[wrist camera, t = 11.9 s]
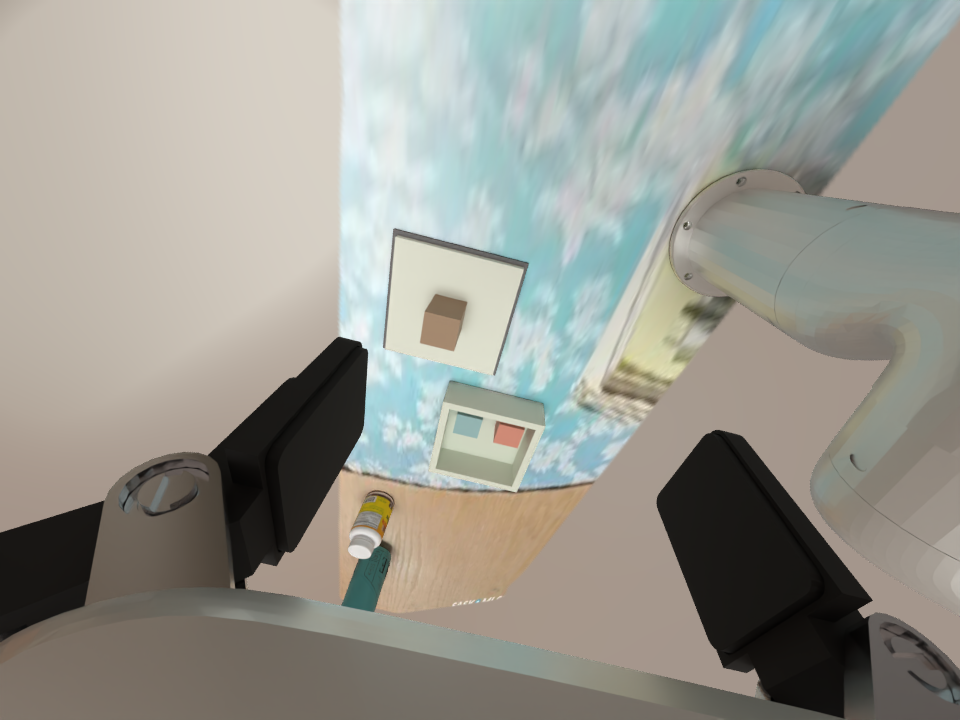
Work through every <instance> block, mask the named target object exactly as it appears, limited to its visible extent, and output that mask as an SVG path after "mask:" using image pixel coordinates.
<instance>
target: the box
mask: <svg viewBox="0 0 960 720" xmlns="http://www.w3.org/2000/svg"><path fill="white" fill-rule="evenodd" d="M458 411H459V412H463V413H467V414H472V415H476V416H480V417H483V421H482V424H481V427H480V431H479V434H478V437H477V439H476V438H472V437H468V436H464V435H460V434H456V433H453V429H454V425H455V421H456V417H457V413H458ZM496 421H500V422H504V423H509V424H513V425H517V426H521V427H525V431H524V433H523V436H522V438H521V441H520V443H519V446H518V448H514V447H509V446H505V445H501V444H497V443H493V440H494V429H495V424H496ZM544 428H545V417H544V407H543V403H539V402H535V401H531V400H527V399H523V398H519V397H515V396H511V395H507V394H503V393H499V392H495V391H491V390H486V389H482V388H478V387H474V386H470V385H466V384H462V383H458V382H454V381H450V382H449V385H448V388H447V392H446V395H445V398H444V401H443V406H442V410H441V415H440V419H439V424H438V429H437V433H436V438H435V443H434V447H433V452H432V456H431V461H430V466H429V470H428V471H429V472H433V473H437V474H441V475H446V476H450V477H454V478H458V479H463V480H467V481H471V482H475V483H479V484H484V485H488V486H492V487H496V488H500V489H505V490H509V491H513V492H517V490H518V488H519V485H520V483H521V481H522V479H523V476H524V474H525V472H526V469H527V467H528V465H529V463H530V460H531V458H532V456H533V454H534V451H535V449H536V447H537V444H538V442H539V440H540V438H541V435H542V433H543V431H544Z"/></svg>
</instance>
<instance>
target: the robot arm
mask: <svg viewBox="0 0 960 720" xmlns="http://www.w3.org/2000/svg"><path fill="white" fill-rule="evenodd" d="M738 179H739V182H738V183H737V184H736V182H737V180H738ZM685 222H686V226H684V227H683V225H684V223H685ZM669 251H670V262H671V265H672V269H673V271H674V273H675V274H676V276H677V278H678V279H679V280H680V281H681V282H682V283H683V284H684V285H685V286H687V287H688V288H689V289H691V290H693V291H695V292H697V293H699V294H702V295H706V296H713V297H724V296H730V297H731V298H733V299H734V300H736V301H737V302H739V303H740V304H742V305H743V306H745V307H746V308H748V309H749V310H751V311H752V312H754V313H755V314H757V315H758V316H760V317H761V318H763V319H764V320H766V321H767V322H769V323H770V324H772V325H773V326H775V327H776V328H778V329H779V330H781V331H782V332H784V333H785V334H787V335H788V336H790V337H791V338H793V339H794V340H796V341H798V342H799V343H800V344H802V345H804V346H805V347H807V348H809V349H811V350H813V351H816V352H818V353H821V354H824V355H827V356H831V357H836V358H842V359H849V360H890V361H889V364H888V365H887V366H886V368H885V369H884V371H883V372H882V373H881V375H880V376H879V378H878V379H877V380H876V382H875V383H874V384H873V386H872V389H871V391H870V392H869V393H868V395H867V396H866V397H865V398H864V400H863V401H862V402H861V404H860V405H859V406H858V408H857V409H856V410H855V411H854V413H853V414H852V415H851V417H850V418H849V419H848V421H847V422H846V423H845V424H844V426H843V427H842V428H841V430H840V431H839V432H838V434H837V435H836V436H835V438H834V439H833V440H832V441H831V443H830V445H829V446H828V448H827V449H826V450H825V452H824V453H823V454H822V456H821V457H820V459H819V460H818V462H817V464H816V465H815V468H814V470H813V472H812V476H811V480H810V492H811V497H812V500H813V502H814V505H815V507H816V509H817V511H818V512H819V514H820V515H821V517H822V518H823V520H824V521H825V522H826V524H827V525H828V526H829V527H830V528H831V529H832V530H833V531H834V532H835V533H836V534H837V535H838V536H839V537H840V538H841V539H842V540H843V541H844V542H845V543H846V544H847V545H849V546H850V547H851V548H852V549H854V550H855V551H856V552H857V553H858V554H860V555H861V556H862V557H863V558H865V559H866V560H868V561H869V562H870V563H872V564H873V565H875V566H876V567H877V568H879V569H880V570H882V571H883V572H885V573H886V574H888V575H889V576H891V577H893V578H894V579H896V580H897V581H899V582H900V583H902V584H903V585H905V586H907V587H908V588H910V589H911V590H913V591H915V592H917V593H918V594H920V595H922V596H924V597H925V598H927V599H929V600H930V601H932V602H934V603H936V604H938V605H939V606H941V607H943V608H944V609H946V610H948V611H950V612H952V613H953V614H955V615H957V616H959V617H960V213H953V212H943V211H935V210H927V209H920V208H911V207H899V206H892V205H884V204H877V203H869V202H861V201H853V200H846V199H839V198H830V197H823V196H816V195H808V194H806V193H805V191H804V190H803V188H802V187H801V186H800V184H799V183H798V182H797V181H796V180H794V179H793V178H792V177H790V176H789V175H786V174H784V173H781V172H779V171H773V170H766V169H752V170H746V171H740V172H737V173H734V174H731V175H728V176H726V177H724V178H722V179H720V180H718V181H716V182H714V183H713V184H711V185H710V186H709V187H707V188H706V189H704V190H703V191H702V192H701V193H699V194H698V195H697V196H696V197H695V198H694V199H693V200H692V201H691V202H690V204H689V205H688V206H687V207H686V209H685V210H684V211H683V213H682V214H681V216H680V218H679V220H678V221H677V223H676V225H675V228H674V231H673V233H672V236H671V242H670V248H669ZM686 273H687V275H686V276H684V275H685V274H686ZM367 363H368V350H367V349H364V348H362V344H361V342H358V341H354V340H350V339H346V338H342V337H338V338H336V339H335V340H334V341H333V342H332V343H331V344H330V345H329V346H328V347H327V348H326V349H325V350H324V351H323V352H322V353H321V354H320V355H319V356H318V357H317V358H316V359H315V360H314V361H313V362H312V363H311V364H310V365H308V366H307V368H305V369H304V370H303V371H302V372H301V373H300V374H299V375H298V376H297V377H296V378H294V377H293V378H289V379H288V380H287V381H286V382H284V383H283V384H282V385H281V386H280V387H279V388H278V389H277V390H276V391H275V392H274V393H273V394H272V395H271V396H270V397H268V399H266V400H265V401H264V402H263V403H262V404H261V405H260V406H259V407H258V408H257V409H256V410H255V411H254V412H253V413H252V414H251V415H250V416H249V417H248V418H246V419H245V420H244V421H243V422H242V423H241V424H240V425H239V426H238V427H237V428H236V429H235V430H234V431H233V432H232V433H231V434H230V435H229V436H228V437H227V438H225V439H224V440H223V441H222V442H221V443H220V444H219V445H218V446H217V447H216V448H215V449H214V450H213V451H212V452H211V453H210V454H209V455H208V456H207V455H204V454H200V453H191V452H182V453H174V454H168V455H164V456H161V457H158V458H155V459H151V460H149V461H148V462H145V463H143V464H141V465H139V466H137V467H135V468H133V469H132V470H131V471H130V472H128V473H126V474H125V475H124V476H122V477H121V478H120V479H119V480H118V481H117V482H116V483H115V485H114V486H113V487H112V488H111V489H110V490H109V492H108V495H107V497H106V499H105V501H101V502H98V503H95V504H92V505H88V506H85V507H82V508H79V509H75V510H73V511H69V512H66V513H63V514H59V515H56V516H53V517H50V518H47V519H43V520H40V521H37V522H33V523H30V524H27V525H24V526H20V527H17V528H14V529H11V530H7V531H4V532H1V533H0V720H960V670H959V668H958V667H957V666H956V665H955V664H954V663H953V662H952V661H951V659H949V657H948V656H947V655H946V654H945V653H943V652H942V651H941V650H940V649H939V648H938V647H937V646H936V645H935V644H934V643H932V642H931V641H930V640H929V639H928V638H926V637H925V636H924V635H922V634H921V633H919V632H918V631H917V630H916V629H914V628H913V627H911V626H909V625H908V624H906V623H904V622H903V621H901V620H900V619H897V618H894V617H892V616H890V615H888V614H883V613H874V614H872V615H870V616H868V617H866V618H863V617H862V615H861V614H860V613H859V611H858V610H857V609H859V608H861V607H862V606H864V605H866V604H868V603H869V602H871V601H873V600H872V599H871V597H870V596H869V595H868V594H867V592H866V591H865V590H864V589H863V587H862V586H861V585H860V584H859V582H858V581H857V580H856V579H855V577H854V576H853V575H852V574H851V572H850V571H849V570H848V568H847V567H846V566H845V565H844V563H843V562H842V561H841V560H840V558H839V557H838V556H837V555H836V553H835V552H834V551H833V550H832V548H831V547H830V546H829V545H828V543H827V542H826V541H825V540H824V538H823V537H822V536H821V534H820V533H819V532H818V531H817V529H816V528H815V527H814V526H813V524H812V523H811V522H810V521H809V519H808V518H807V517H806V515H805V514H804V513H803V512H802V511H801V509H800V508H799V507H798V506H797V504H796V503H795V502H794V500H793V499H792V498H791V497H790V495H789V494H788V493H787V492H786V490H785V489H784V488H783V486H782V485H781V484H780V483H779V481H778V480H777V479H776V478H775V476H774V475H773V474H772V473H771V472H770V470H769V469H768V468H767V466H766V465H765V464H764V462H763V461H762V460H761V459H760V458H759V456H758V455H757V454H756V452H755V451H754V450H753V449H752V447H751V446H750V445H749V444H748V442H747V441H746V440H745V439H744V438H743V437H742V436H740V435H737V434H733V433H729V432H725V431H721V430H715V431H712V432H711V433H708V434H706V435H705V436H704V437H703V438H702V439H701V440H700V442H699V443H698V444H697V446H696V447H695V448H694V449H693V451H692V452H691V453H690V454H689V456H688V457H687V458H686V460H685V461H684V462H683V463H682V465H681V466H680V467H679V469H678V470H677V471H676V472H675V474H674V475H673V477H672V478H671V479H670V480H669V482H668V483H667V484H666V485H665V487H664V488H663V489H662V490H661V492H660V493H659V495H658V497H657V508H658V511H659V513H660V516H661V519H662V521H663V523H664V526H665V529H666V531H667V534H668V536H669V539H670V542H671V544H672V547H673V549H674V552H675V555H676V557H677V560H678V562H679V565H680V568H681V570H682V573H683V575H684V578H685V580H686V583H687V586H688V588H689V591H690V593H691V596H692V598H693V601H694V604H695V606H696V609H697V611H698V614H699V616H700V619H701V622H702V624H703V627H704V629H705V632H706V635H707V637H708V639H709V641H710V643H711V645H712V646H713V647H714V648H715V649H716V650H717V653H718V655H719V658H720V660H721V663H722V665H723V668H727V669H732V670H736V671H740V672H744V673H747V672H749V671H751V670H753V669H754V668H755V670H756V672H757V674H758V676H759V680H758V684H757V689H756V695H755V697H750V696H746V695H742V694H737V693H733V692H728V691H724V690H720V689H716V688H711V687H707V686H703V685H698V684H694V683H690V682H685V681H681V680H676V679H672V678H668V677H663V676H659V675H654V674H650V673H645V672H641V671H636V670H632V669H628V668H623V667H619V666H615V665H610V664H606V663H601V662H597V661H592V660H588V659H583V658H579V657H574V656H570V655H565V654H561V653H557V652H552V651H548V650H543V649H539V648H535V647H530V646H526V645H521V644H517V643H512V642H507V641H503V640H498V639H493V638H489V637H485V636H480V635H475V634H471V633H467V632H462V631H457V630H453V629H448V628H444V627H439V626H435V625H430V624H425V623H421V622H417V621H412V620H407V619H403V618H398V617H394V616H389V615H385V614H379V613H375V612H370V611H365V610H360V609H355V608H350V607H345V606H340V605H334V604H329V603H325V602H320V601H314V600H310V599H305V598H300V597H295V596H288V595H282V594H275V593H267V592H261V591H254V590H248V584H247V577H249V576H251V575H253V574H254V572H255V570H256V569H257V568H258V566H259V565H260V563H265V564H269V565H273V566H277V565H278V563H279V561H280V560H281V558H282V556H283V555H284V553H285V552H290V553H291V552H293V551H294V549H295V548H296V547H297V545H298V543H299V542H300V540H301V538H302V537H303V535H304V533H305V531H306V530H307V528H308V526H309V524H310V523H311V521H312V519H313V517H314V516H315V514H316V512H317V510H318V509H319V507H320V505H321V504H322V502H323V500H324V498H325V497H326V494H327V493H328V491H329V490H330V488H331V486H332V484H333V483H334V481H335V479H336V477H337V476H338V474H339V472H340V471H341V469H342V467H343V465H344V464H345V462H346V460H347V458H348V457H349V455H350V453H351V451H352V450H353V448H354V446H355V444H356V443H357V441H358V439H359V438H360V436H361V433H362V430H363V426H364V415H365V397H366V380H367Z"/></svg>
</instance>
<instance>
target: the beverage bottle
mask: <svg viewBox="0 0 960 720" xmlns="http://www.w3.org/2000/svg"><path fill="white" fill-rule="evenodd" d="M390 560H391V554H390V552H389V551H388V550H386V549H385V548H383V547H380V546H378V547H376V548H374V550H373V552H372V554H371V556H370V557H369V558H367V559H359V560H358V563H357V565H356V568H355V570H354V572H353V577H352V579H351V582H349V583H350V584H348V585H349V587H348V590H347V592H346V595H345V598H344V600H343V603H342V605H341V606H345V607H350V608H355V609H360V610H365V611H370V612H374V610H375V608H376V604H377V601H378V598H379V595H380V592H381V589H382V585H383V583H384V579H385V577H386V575H387V572H388V568H389V566H390V565H389V564H390Z"/></svg>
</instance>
